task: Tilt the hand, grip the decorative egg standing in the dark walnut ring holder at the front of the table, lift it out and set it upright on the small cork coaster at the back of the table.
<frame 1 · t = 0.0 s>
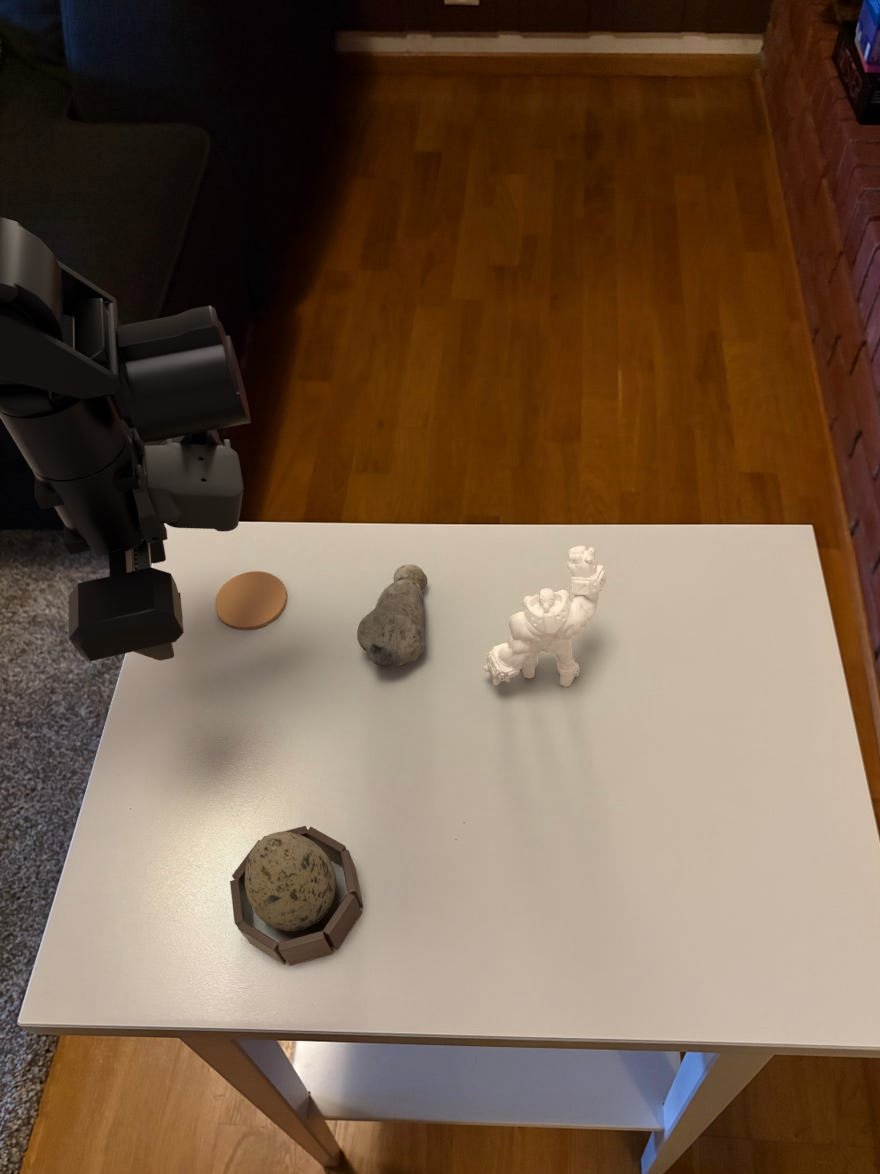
hand: (162, 607, 66), 12 cm above the table, tool pointing down, fingers open, 9 cm apart
stone: (397, 632, 79), on the table
egg holder: (302, 902, 65), on the table
decorative egg: (303, 903, 65), resting in egg holder
figurine: (541, 666, 76), on the table
coaster: (251, 601, 81), on the table
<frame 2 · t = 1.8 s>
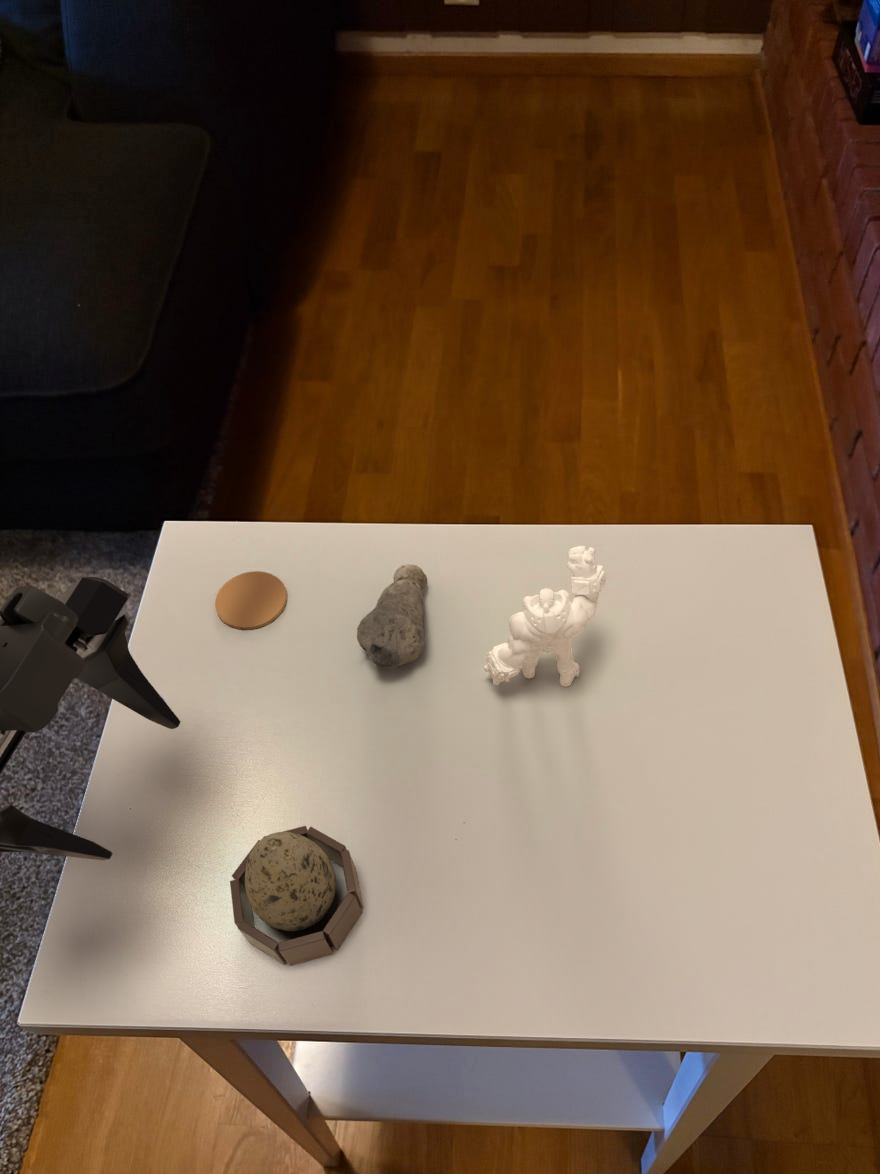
hand: (144, 788, 56), 13 cm above the table, tool tilted 45°, fingers open, 9 cm apart
nothing on the table moved.
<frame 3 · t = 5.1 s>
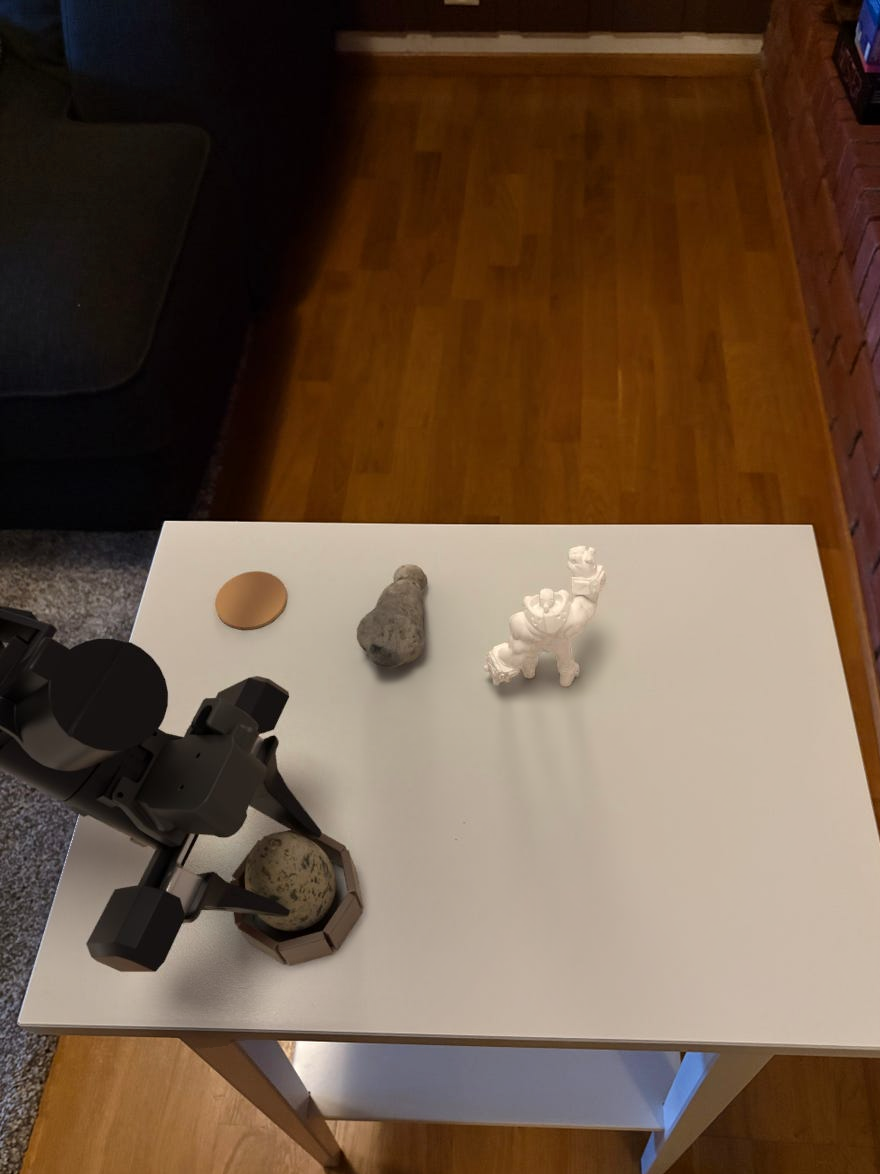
hand: (302, 874, 59), 7 cm above the table, tool tilted 45°, fingers closed on decorative egg, 5 cm apart
decorative egg: (303, 903, 65), resting in egg holder, touching gripper
everything else where it was.
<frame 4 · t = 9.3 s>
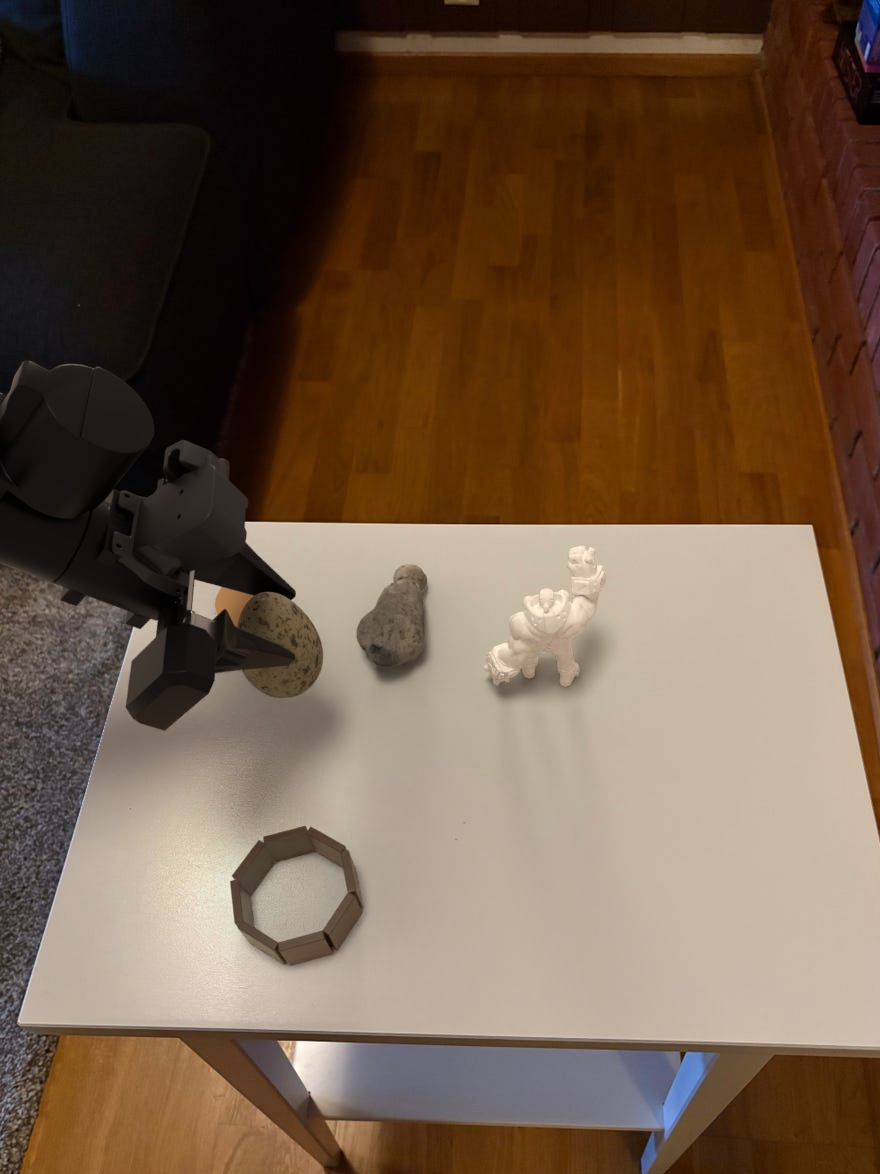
hand: (292, 628, 63), 13 cm above the table, tool tilted 45°, fingers closed on decorative egg, 5 cm apart
decorative egg: (291, 682, 68), point 6 cm above the table, touching gripper
everything else where it was.
when the fingers open (7 cm above the table, at t = 13.6 s): decorative egg stays where it is, resting on coaster.
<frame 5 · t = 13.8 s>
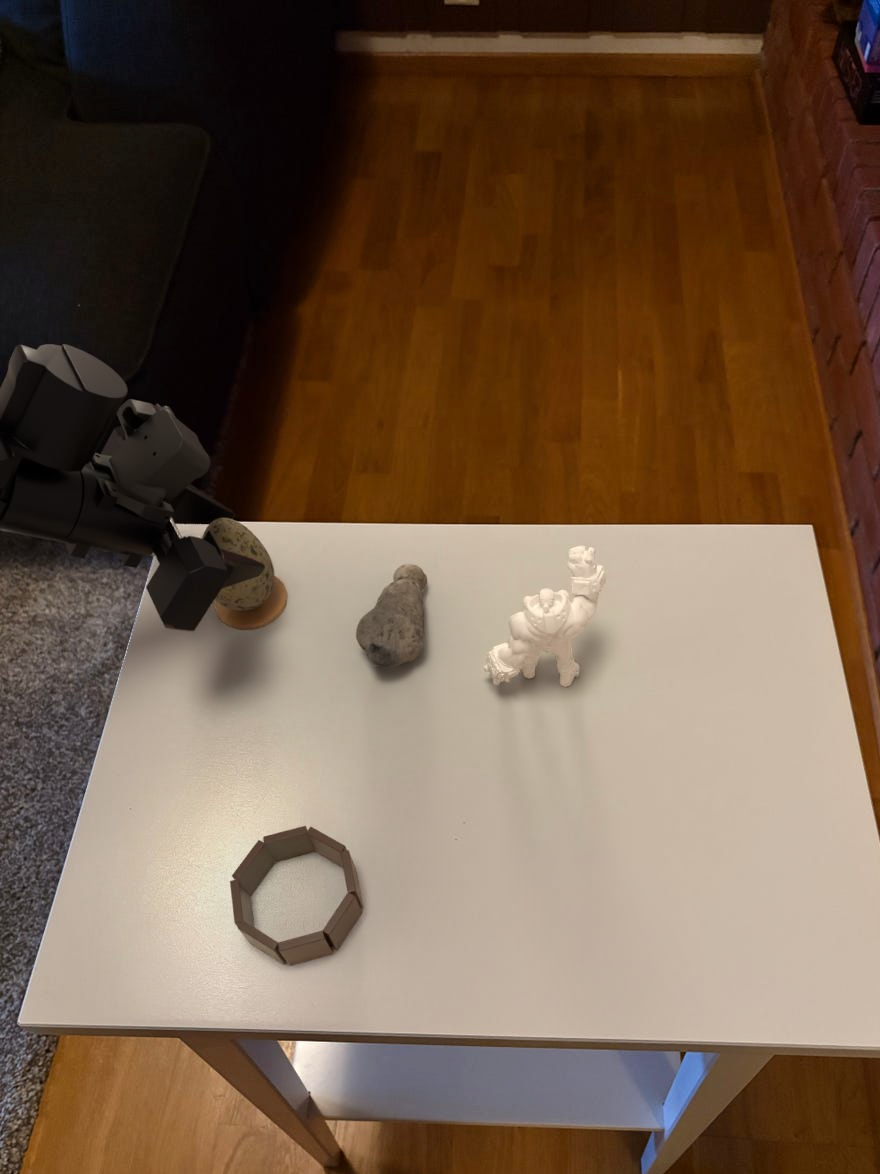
hand: (246, 543, 76), 7 cm above the table, tool tilted 45°, fingers open, 6 cm apart
decorative egg: (249, 600, 81), resting on coaster
everything else where it was.
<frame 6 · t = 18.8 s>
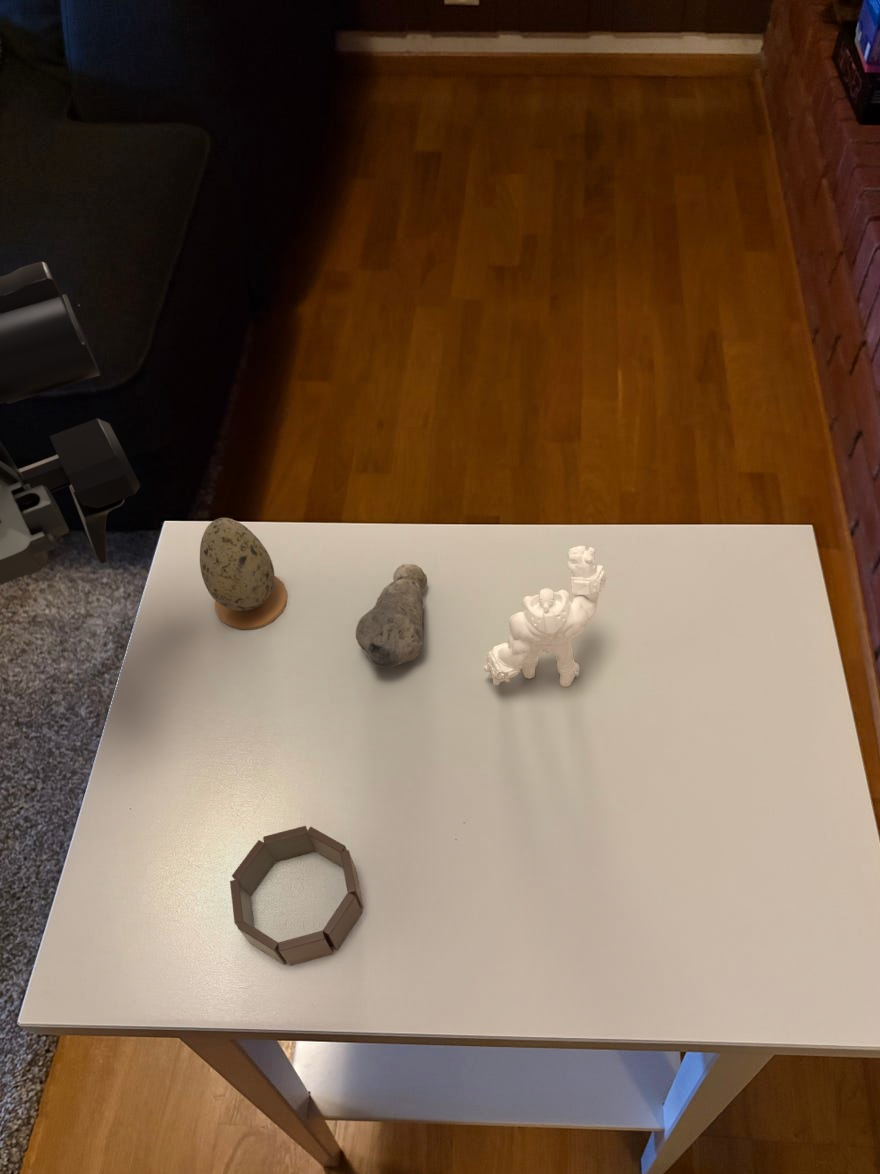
hand: (41, 584, 66), 13 cm above the table, tool pointing down, fingers open, 9 cm apart
nothing on the table moved.
at the end: decorative egg 0.2 cm off-centre on the coaster, point 0.2 cm above the coaster's base; decorative egg touching coaster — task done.
